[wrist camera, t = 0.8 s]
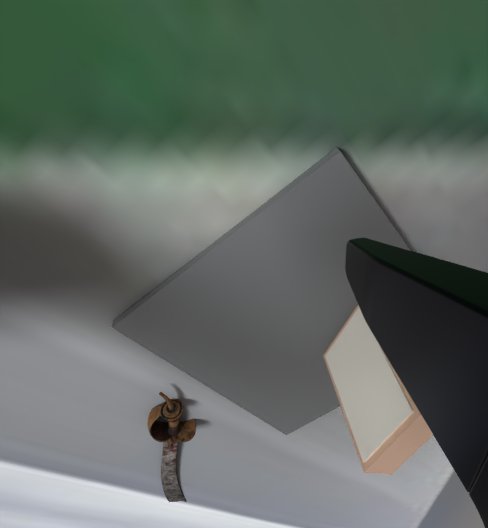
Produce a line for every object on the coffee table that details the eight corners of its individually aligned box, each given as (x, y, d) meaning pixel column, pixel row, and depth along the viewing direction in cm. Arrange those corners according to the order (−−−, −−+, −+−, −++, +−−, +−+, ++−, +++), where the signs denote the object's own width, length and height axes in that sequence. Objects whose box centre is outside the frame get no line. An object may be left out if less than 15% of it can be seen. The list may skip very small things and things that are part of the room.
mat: (285, 429, 39) (286, 435, 38) (113, 320, 28) (111, 327, 28) (466, 328, 33) (470, 334, 33) (337, 147, 23) (340, 151, 22)
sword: (199, 514, 48) (200, 534, 46) (168, 518, 47) (168, 538, 46) (190, 376, 33) (191, 399, 31) (144, 380, 33) (142, 403, 31)
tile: (321, 355, 32) (361, 472, 25) (360, 298, 29) (419, 413, 22) (345, 359, 33) (391, 474, 25) (386, 304, 29) (452, 417, 22)
